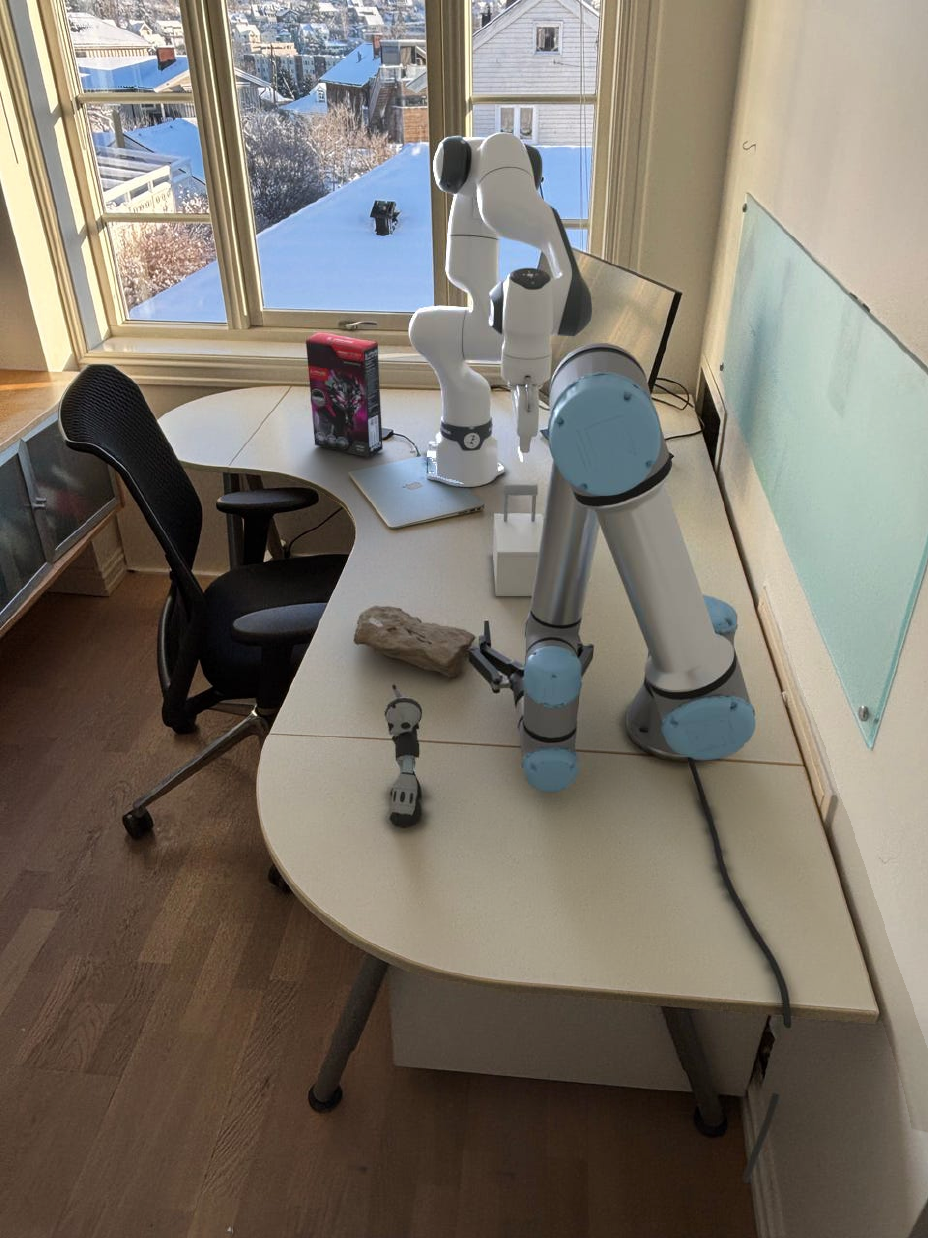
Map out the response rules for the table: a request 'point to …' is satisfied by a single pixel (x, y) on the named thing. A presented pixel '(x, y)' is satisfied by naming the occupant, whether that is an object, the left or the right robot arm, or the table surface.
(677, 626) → the right robot arm
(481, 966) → the table surface
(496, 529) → the lid
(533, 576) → the chest
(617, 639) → the table surface
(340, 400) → the graphics card box
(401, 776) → the robot
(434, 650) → the stone
